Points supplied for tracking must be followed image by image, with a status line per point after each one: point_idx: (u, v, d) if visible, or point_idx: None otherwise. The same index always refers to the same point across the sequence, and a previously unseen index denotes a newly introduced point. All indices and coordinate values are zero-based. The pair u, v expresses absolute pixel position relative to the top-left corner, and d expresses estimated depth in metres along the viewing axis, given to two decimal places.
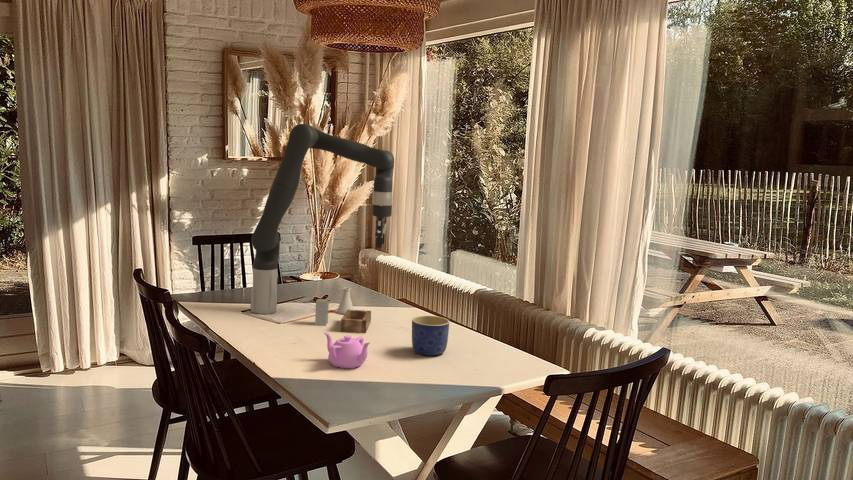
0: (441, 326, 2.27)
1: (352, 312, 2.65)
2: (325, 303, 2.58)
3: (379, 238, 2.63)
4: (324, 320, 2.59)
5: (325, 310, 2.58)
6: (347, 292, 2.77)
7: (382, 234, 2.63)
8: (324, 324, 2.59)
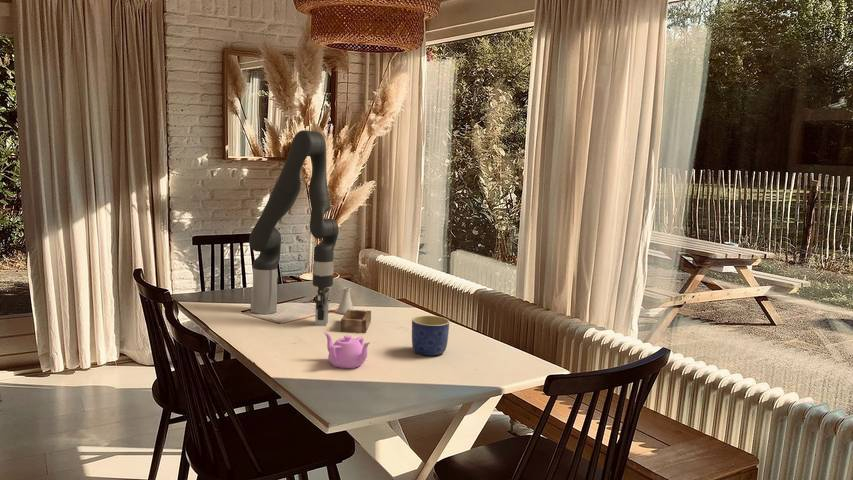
0: (441, 326, 2.27)
1: (352, 312, 2.65)
2: None
3: (320, 311, 2.57)
4: (324, 320, 2.59)
5: (325, 310, 2.58)
6: (347, 292, 2.77)
7: (323, 307, 2.57)
8: (324, 324, 2.59)
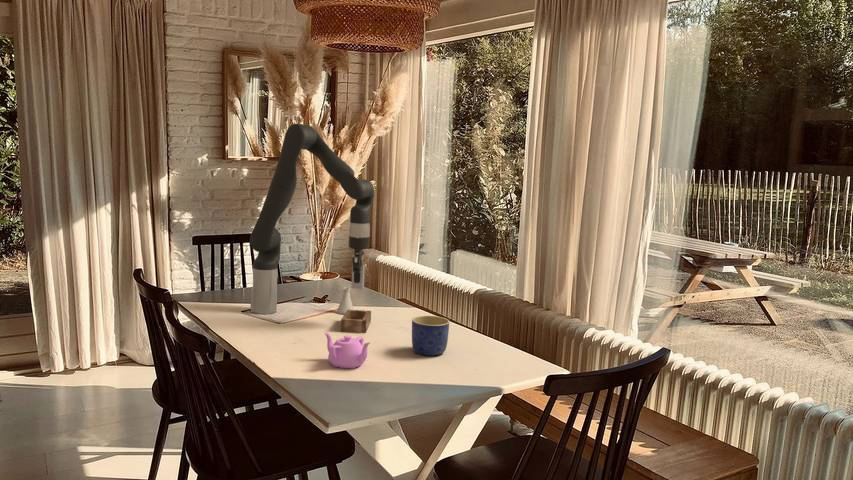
0: (441, 326, 2.27)
1: (352, 312, 2.65)
2: (362, 266, 2.54)
3: (357, 273, 2.53)
4: (360, 283, 2.55)
5: (361, 273, 2.54)
6: (347, 292, 2.77)
7: (360, 270, 2.53)
8: (360, 287, 2.55)
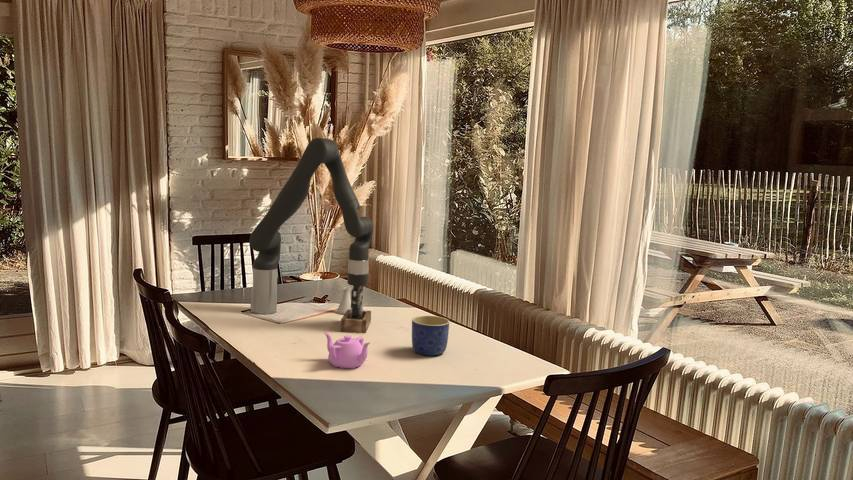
0: (441, 326, 2.27)
1: None
2: (360, 306, 2.56)
3: (355, 308, 2.53)
4: None
5: (360, 313, 2.57)
6: (347, 292, 2.77)
7: (358, 304, 2.53)
8: None
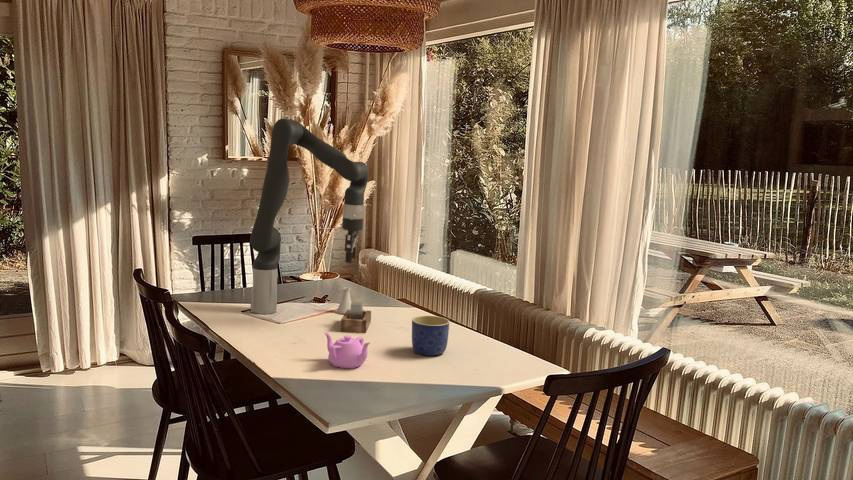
0: (441, 326, 2.27)
1: None
2: (360, 306, 2.56)
3: (349, 253, 2.53)
4: None
5: (360, 313, 2.57)
6: (347, 292, 2.77)
7: (352, 249, 2.53)
8: None
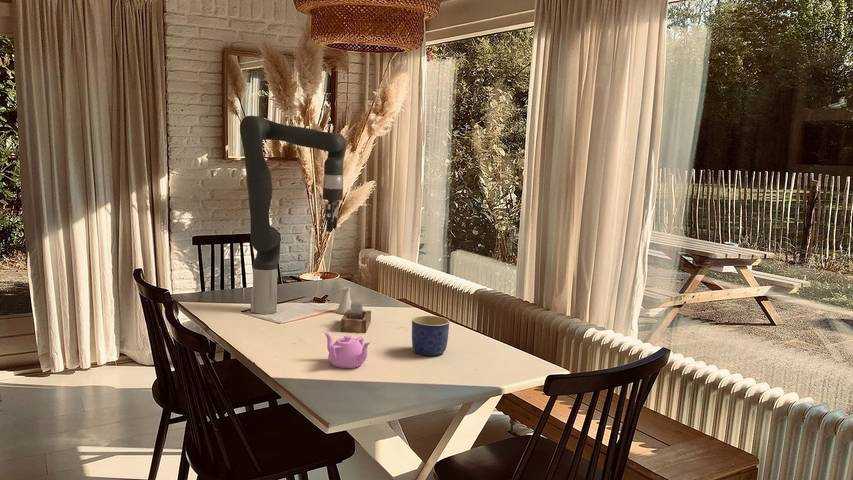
0: (441, 326, 2.27)
1: None
2: (360, 306, 2.56)
3: (329, 222, 2.59)
4: None
5: (360, 313, 2.57)
6: (347, 292, 2.77)
7: (332, 218, 2.59)
8: None
